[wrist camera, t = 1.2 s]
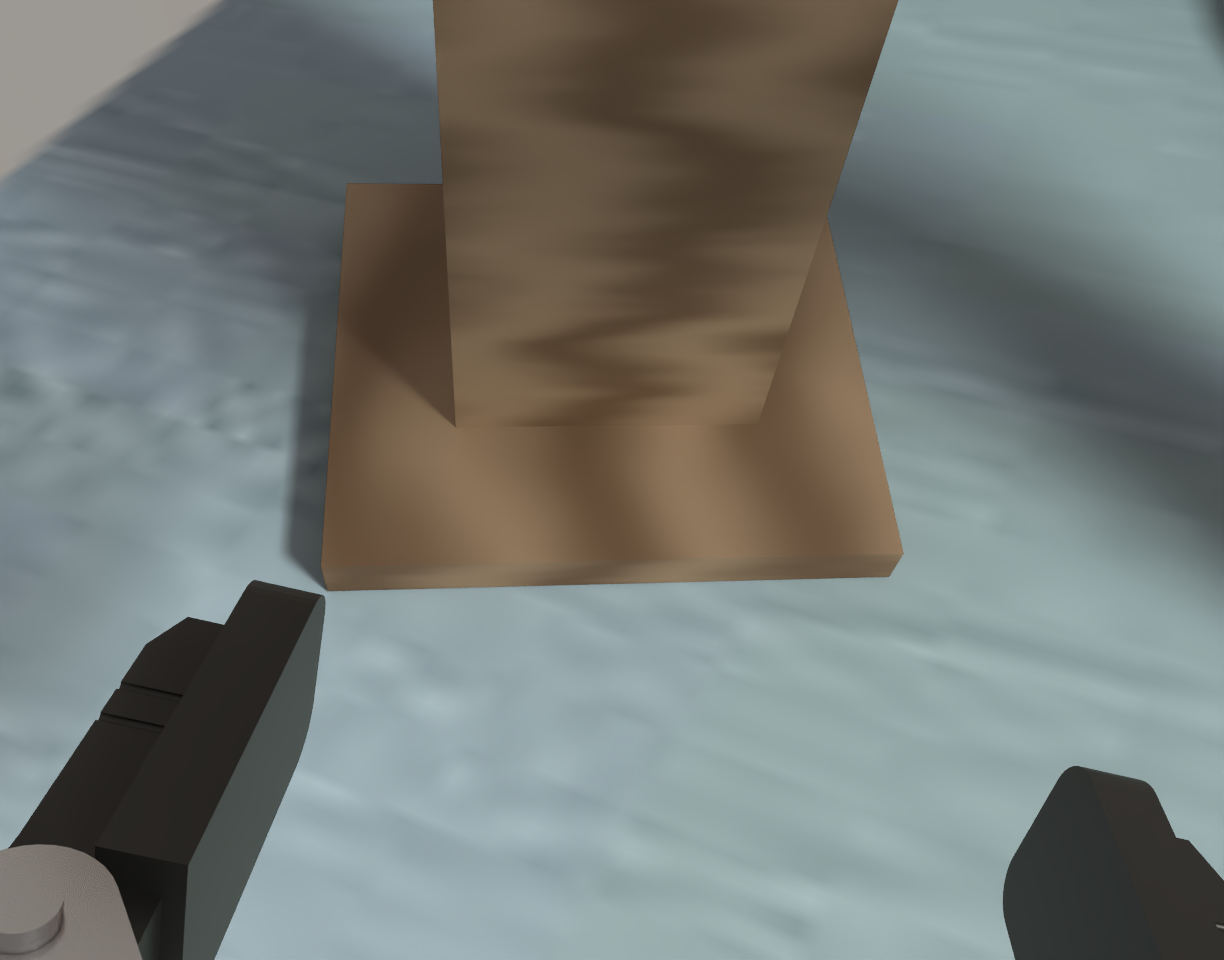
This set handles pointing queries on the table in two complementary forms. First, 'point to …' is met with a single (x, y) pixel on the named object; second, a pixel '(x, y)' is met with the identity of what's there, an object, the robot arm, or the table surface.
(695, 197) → the wooden pedestal
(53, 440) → the table surface
